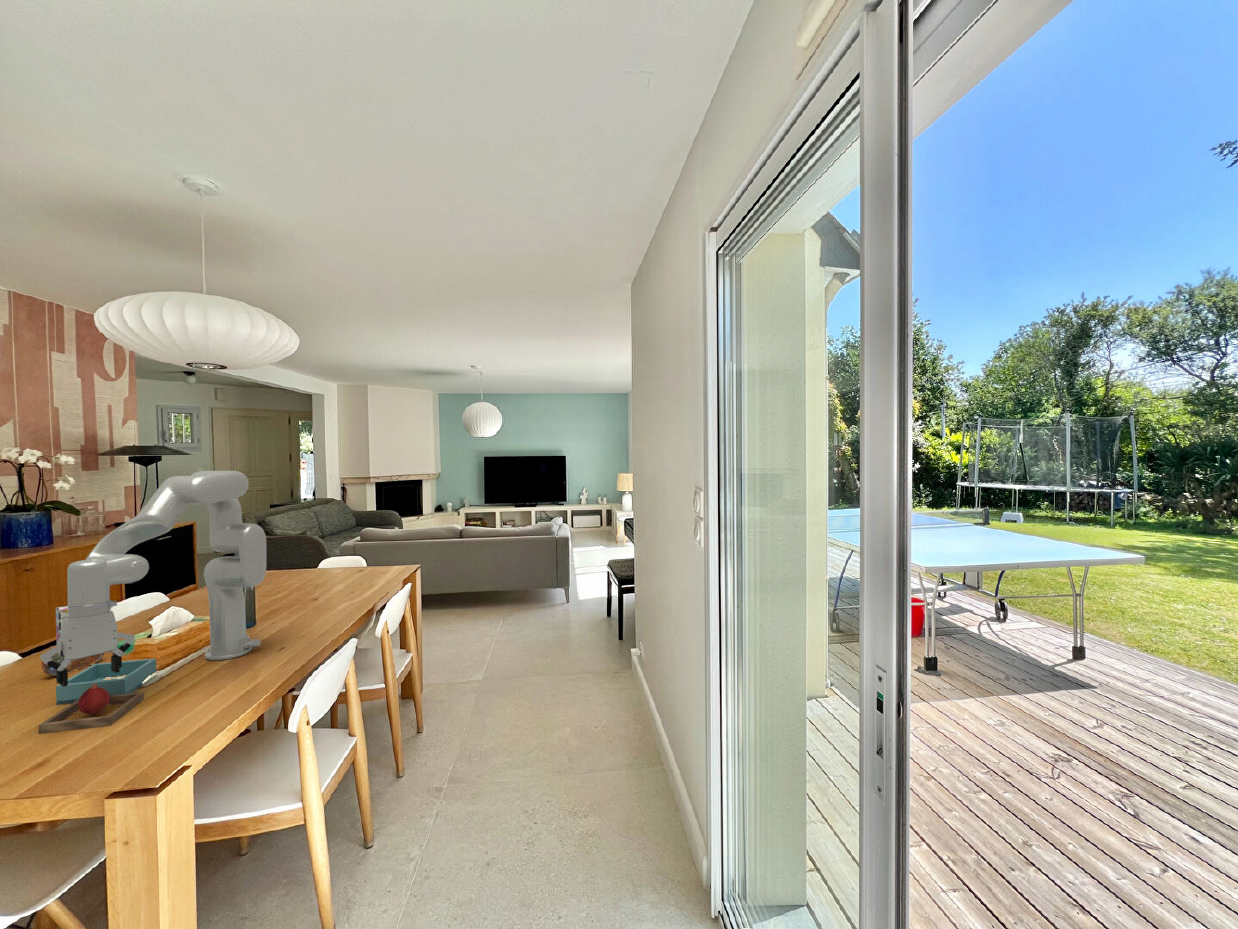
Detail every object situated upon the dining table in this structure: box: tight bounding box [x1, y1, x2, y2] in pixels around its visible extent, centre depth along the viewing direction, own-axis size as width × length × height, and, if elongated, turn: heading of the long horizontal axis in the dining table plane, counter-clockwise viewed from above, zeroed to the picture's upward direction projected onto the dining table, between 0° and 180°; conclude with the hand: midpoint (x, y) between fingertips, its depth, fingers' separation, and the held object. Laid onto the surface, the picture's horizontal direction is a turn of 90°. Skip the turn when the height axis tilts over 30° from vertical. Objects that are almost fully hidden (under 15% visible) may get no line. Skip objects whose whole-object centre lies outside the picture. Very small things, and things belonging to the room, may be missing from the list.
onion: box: [78, 684, 110, 717], centre depth 137 cm, size 6×6×8 cm
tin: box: [41, 652, 105, 677], centre depth 165 cm, size 15×3×8 cm, turn 168°
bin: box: [55, 657, 158, 706], centre depth 152 cm, size 15×15×5 cm
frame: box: [37, 691, 145, 734], centre depth 137 cm, size 14×14×2 cm
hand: (90, 678), depth 136 cm, fingers open, 9 cm apart
